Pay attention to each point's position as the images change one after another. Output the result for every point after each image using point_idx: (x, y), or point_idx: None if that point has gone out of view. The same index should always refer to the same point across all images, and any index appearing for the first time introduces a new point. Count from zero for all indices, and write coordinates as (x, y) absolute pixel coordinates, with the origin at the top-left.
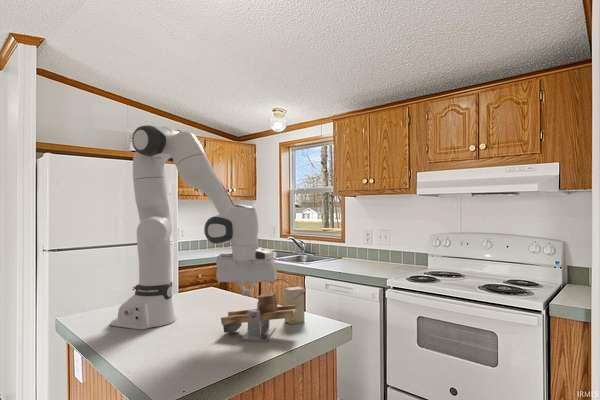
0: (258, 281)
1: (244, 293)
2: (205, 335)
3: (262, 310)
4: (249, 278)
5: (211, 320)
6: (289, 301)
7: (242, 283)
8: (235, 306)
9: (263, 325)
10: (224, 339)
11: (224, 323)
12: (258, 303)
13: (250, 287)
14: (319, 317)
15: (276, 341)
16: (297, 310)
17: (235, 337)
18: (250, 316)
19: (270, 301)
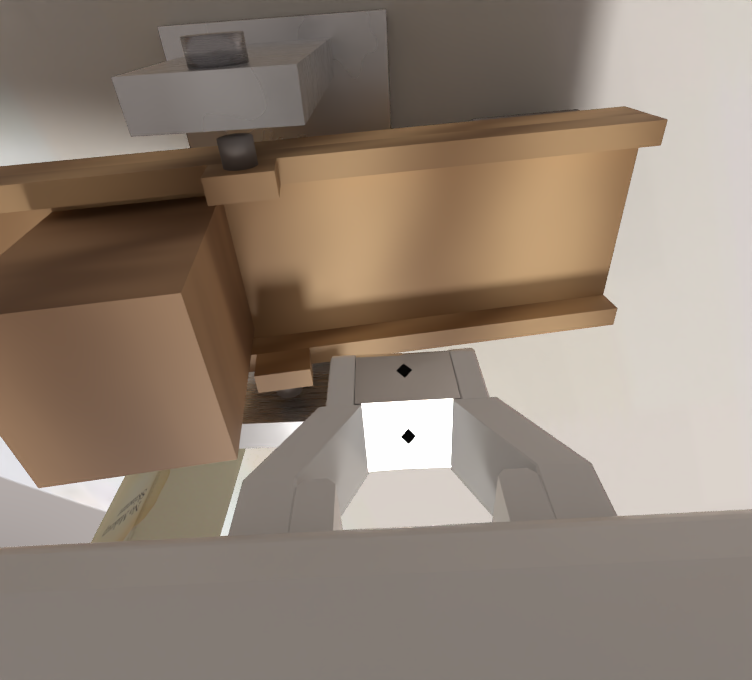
0: (30, 552)
1: (437, 366)
2: (735, 86)
3: (175, 219)
4: (270, 627)
5: (718, 387)
6: (144, 526)
7: (505, 503)
8: None
9: None
10: (544, 19)
11: (600, 109)
12: None
13: (315, 444)
14: (105, 508)
15: (96, 71)
16: (133, 485)
17: (462, 92)
18: (267, 59)
19: (7, 277)
